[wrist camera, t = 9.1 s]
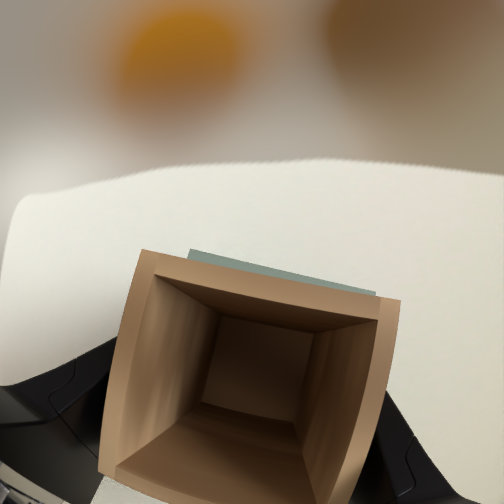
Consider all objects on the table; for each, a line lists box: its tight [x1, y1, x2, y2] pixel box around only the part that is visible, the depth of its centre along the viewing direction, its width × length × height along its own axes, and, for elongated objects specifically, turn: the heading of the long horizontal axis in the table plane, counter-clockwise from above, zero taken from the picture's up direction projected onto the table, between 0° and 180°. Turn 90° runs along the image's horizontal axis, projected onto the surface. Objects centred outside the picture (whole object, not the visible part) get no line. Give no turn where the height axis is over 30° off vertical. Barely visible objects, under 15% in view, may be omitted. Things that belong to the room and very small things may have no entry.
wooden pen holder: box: [98, 249, 401, 504], centre depth 10 cm, size 6×6×10 cm
